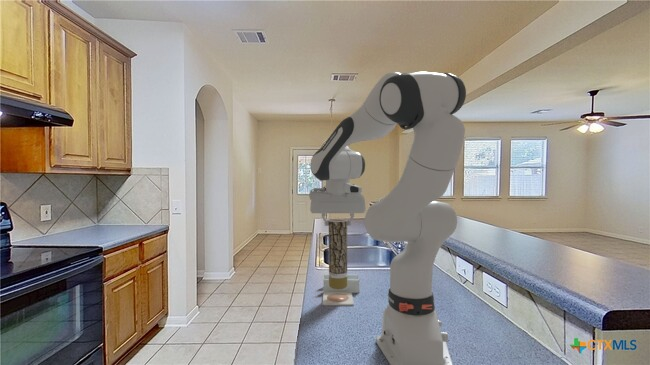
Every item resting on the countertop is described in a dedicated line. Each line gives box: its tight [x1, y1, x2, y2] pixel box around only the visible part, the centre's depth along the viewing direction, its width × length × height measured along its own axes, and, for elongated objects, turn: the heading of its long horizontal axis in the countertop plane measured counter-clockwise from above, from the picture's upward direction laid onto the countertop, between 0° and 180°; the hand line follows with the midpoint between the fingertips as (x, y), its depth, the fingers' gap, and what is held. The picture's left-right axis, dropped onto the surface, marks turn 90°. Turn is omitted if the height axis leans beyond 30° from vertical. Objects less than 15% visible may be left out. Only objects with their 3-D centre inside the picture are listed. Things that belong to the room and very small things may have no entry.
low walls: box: [323, 274, 360, 294], centre depth 128 cm, size 7×14×5 cm, turn 88°
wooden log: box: [328, 217, 348, 289], centre depth 117 cm, size 7×7×25 cm
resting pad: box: [322, 291, 355, 307], centre depth 118 cm, size 11×11×1 cm
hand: (337, 225), depth 117 cm, fingers closed on wooden log, 7 cm apart
